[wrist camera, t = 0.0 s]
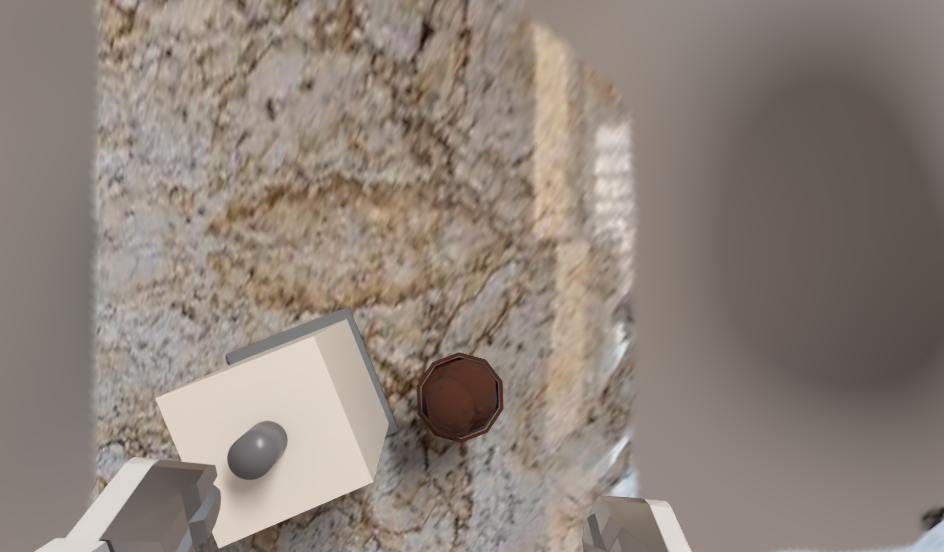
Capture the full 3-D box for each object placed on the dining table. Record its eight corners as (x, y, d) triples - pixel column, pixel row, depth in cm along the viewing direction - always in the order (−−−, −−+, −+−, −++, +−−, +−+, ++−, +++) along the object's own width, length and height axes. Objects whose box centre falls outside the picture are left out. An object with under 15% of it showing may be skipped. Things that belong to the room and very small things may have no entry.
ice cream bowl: (450, 432, 64) (457, 480, 49) (402, 372, 63) (394, 402, 48) (507, 386, 65) (531, 419, 50) (461, 326, 64) (471, 342, 49)
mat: (398, 429, 63) (398, 431, 63) (279, 479, 62) (278, 481, 61) (348, 306, 63) (348, 306, 62) (227, 353, 61) (225, 354, 60)
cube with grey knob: (388, 423, 63) (367, 502, 41) (279, 469, 61) (197, 576, 39) (346, 318, 62) (302, 341, 40) (235, 362, 60) (127, 410, 39)
